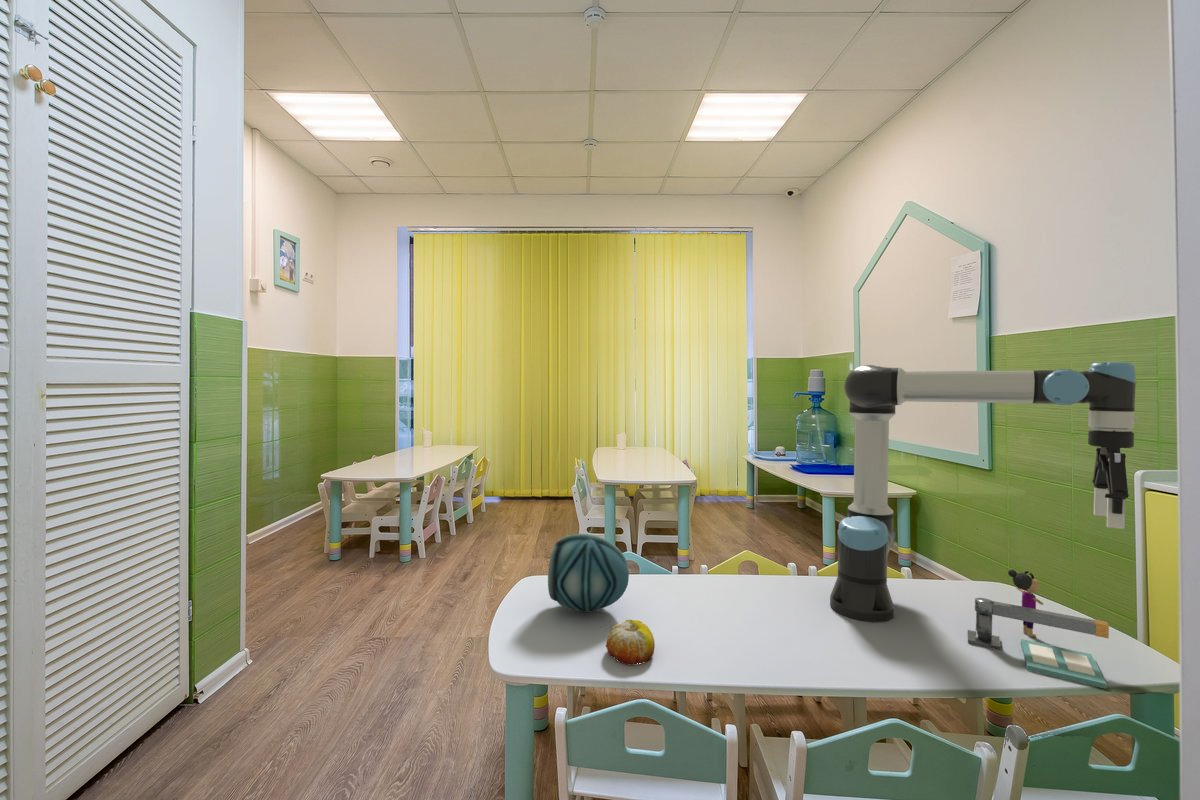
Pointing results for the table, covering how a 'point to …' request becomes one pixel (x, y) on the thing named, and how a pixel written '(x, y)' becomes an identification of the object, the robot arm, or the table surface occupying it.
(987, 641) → the post
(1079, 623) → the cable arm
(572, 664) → the table surface
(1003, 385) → the robot arm
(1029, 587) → the toy
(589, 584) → the toy
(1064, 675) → the mat
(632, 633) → the fruit
